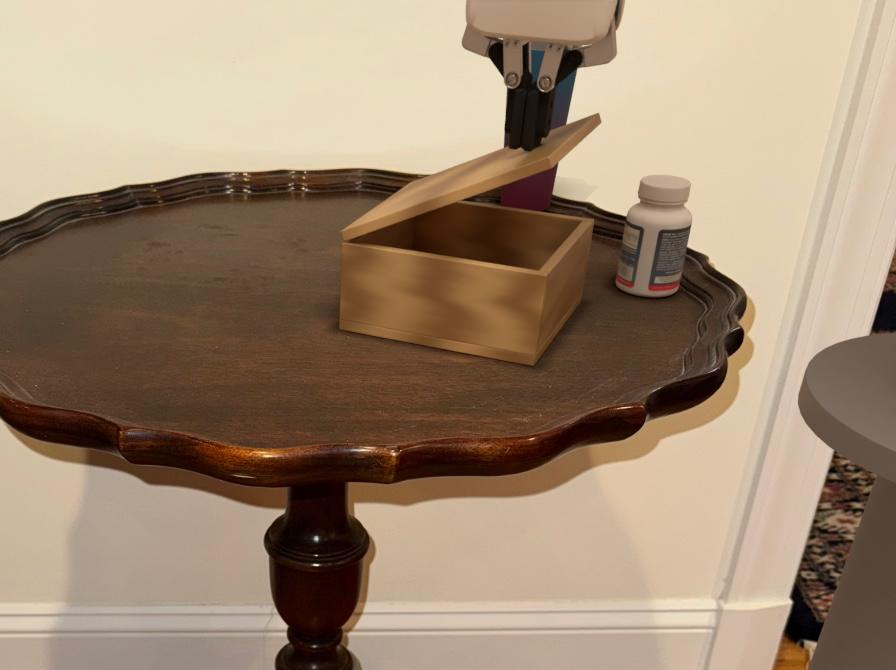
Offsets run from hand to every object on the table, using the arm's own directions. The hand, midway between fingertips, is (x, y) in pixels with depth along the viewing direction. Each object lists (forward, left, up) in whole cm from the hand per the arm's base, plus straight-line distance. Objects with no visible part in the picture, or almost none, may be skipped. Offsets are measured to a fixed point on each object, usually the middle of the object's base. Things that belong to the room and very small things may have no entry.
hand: (525, 145), depth 82 cm
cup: (+7, -32, -14) cm, 36 cm away
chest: (+3, 0, -13) cm, 14 cm away
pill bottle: (-9, -13, -14) cm, 21 cm away
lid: (+4, 0, -3) cm, 5 cm away
